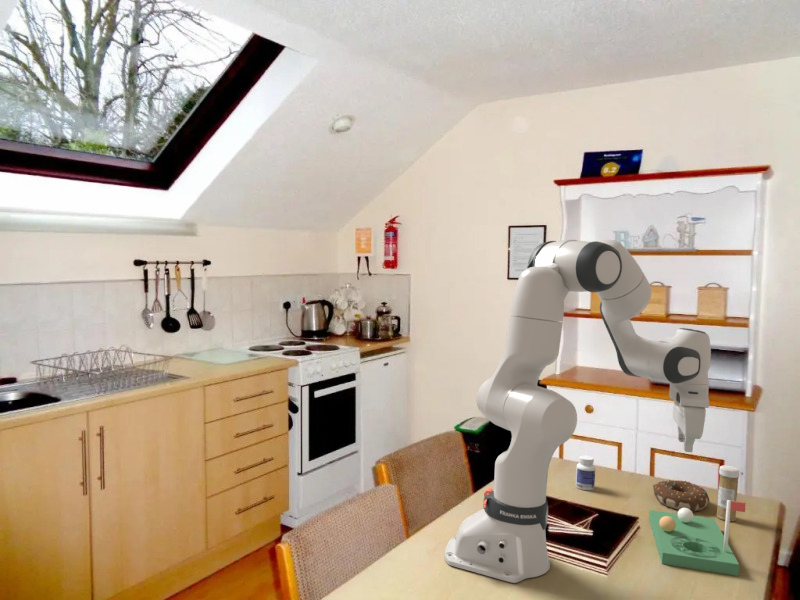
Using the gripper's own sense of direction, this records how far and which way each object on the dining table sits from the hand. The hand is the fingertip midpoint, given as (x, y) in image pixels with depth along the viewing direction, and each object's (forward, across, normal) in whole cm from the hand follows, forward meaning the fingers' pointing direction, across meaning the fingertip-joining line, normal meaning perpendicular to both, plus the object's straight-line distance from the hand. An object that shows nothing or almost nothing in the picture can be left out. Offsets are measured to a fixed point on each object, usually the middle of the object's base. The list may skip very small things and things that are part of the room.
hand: (684, 446), depth 154 cm
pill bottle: (+20, -15, -23) cm, 34 cm away
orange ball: (+15, +14, -5) cm, 21 cm away
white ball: (+15, +7, 0) cm, 17 cm away
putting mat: (+19, +14, 0) cm, 24 cm away
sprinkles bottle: (+20, -6, +12) cm, 24 cm away
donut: (+20, -13, +2) cm, 24 cm away
